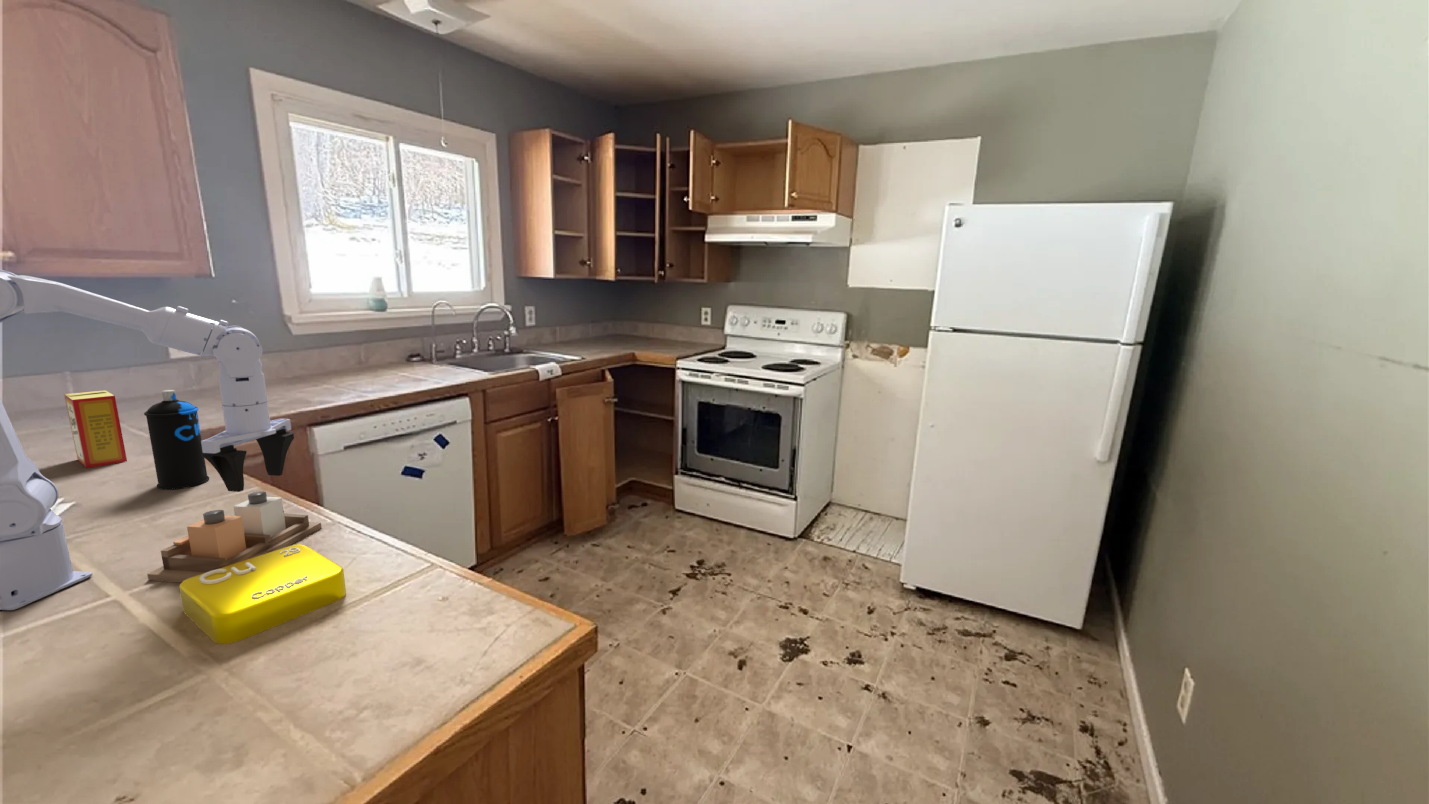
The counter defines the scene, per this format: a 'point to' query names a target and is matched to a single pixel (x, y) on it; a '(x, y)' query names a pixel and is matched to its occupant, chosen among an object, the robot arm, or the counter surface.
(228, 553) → the orange plug
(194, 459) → the aerosol can
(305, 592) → the element tile
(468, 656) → the counter surface
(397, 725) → the counter surface
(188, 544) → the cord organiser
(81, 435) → the baking soda box
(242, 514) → the grey plug
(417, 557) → the counter surface
